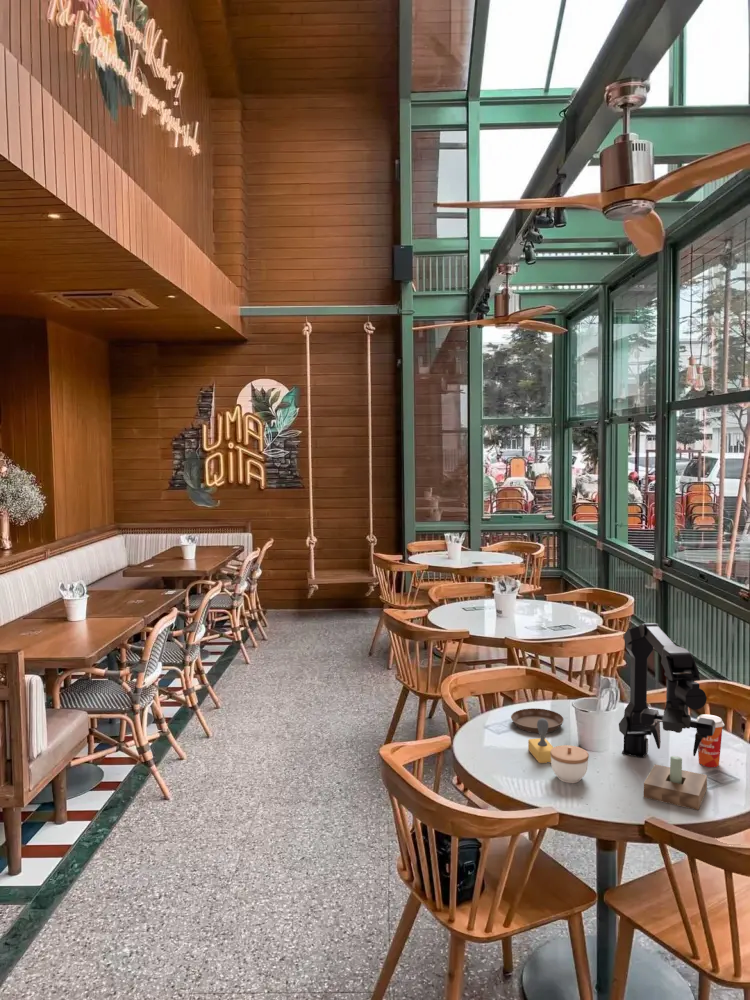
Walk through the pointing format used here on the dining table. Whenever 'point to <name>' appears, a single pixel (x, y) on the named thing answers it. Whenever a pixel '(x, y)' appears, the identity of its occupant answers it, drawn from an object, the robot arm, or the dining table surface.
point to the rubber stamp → (541, 743)
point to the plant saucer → (536, 719)
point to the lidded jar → (569, 763)
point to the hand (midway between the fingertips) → (676, 751)
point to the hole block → (675, 787)
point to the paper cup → (711, 744)
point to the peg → (676, 769)
